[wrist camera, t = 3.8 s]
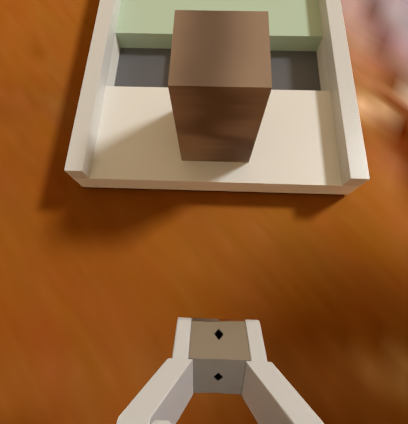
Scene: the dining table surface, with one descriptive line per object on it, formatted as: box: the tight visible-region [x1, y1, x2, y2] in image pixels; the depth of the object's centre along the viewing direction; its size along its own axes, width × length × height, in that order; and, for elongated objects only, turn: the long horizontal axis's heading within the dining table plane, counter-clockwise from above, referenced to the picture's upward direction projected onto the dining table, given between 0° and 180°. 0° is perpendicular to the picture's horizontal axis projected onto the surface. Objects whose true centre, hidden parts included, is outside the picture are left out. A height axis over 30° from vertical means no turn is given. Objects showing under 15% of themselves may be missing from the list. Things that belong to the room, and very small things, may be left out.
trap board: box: [64, 0, 370, 195], centre depth 28 cm, size 25×28×4 cm
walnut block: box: [168, 10, 272, 162], centre depth 21 cm, size 6×6×9 cm
